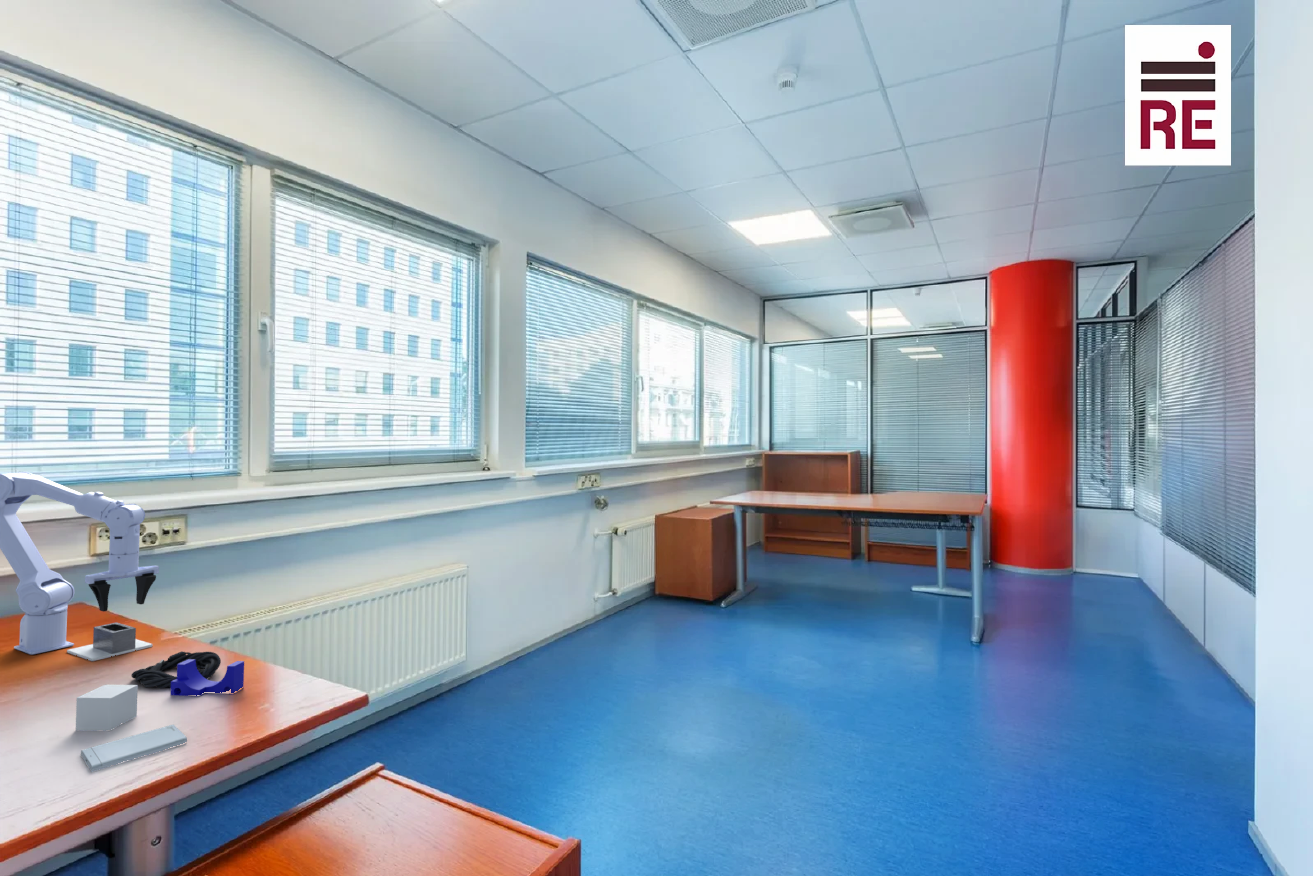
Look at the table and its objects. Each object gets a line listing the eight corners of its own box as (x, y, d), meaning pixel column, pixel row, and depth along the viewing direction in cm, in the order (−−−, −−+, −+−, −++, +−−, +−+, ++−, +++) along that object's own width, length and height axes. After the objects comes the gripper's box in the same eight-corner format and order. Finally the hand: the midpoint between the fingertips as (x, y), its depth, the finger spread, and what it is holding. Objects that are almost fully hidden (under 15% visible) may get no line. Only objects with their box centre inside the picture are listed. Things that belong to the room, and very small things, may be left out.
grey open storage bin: (92, 647, 151) (93, 627, 151) (115, 642, 155) (116, 622, 155) (112, 654, 147) (112, 633, 147) (135, 648, 151) (135, 628, 151)
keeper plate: (66, 652, 149) (67, 637, 149) (126, 638, 160) (127, 624, 160) (92, 661, 144) (92, 645, 144) (152, 646, 155) (152, 632, 155)
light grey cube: (109, 731, 111) (110, 698, 111) (75, 731, 111) (76, 697, 111) (136, 716, 117) (137, 684, 117) (104, 716, 117) (105, 684, 117)
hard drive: (173, 723, 112) (80, 748, 103) (187, 737, 107) (91, 765, 98) (172, 732, 112) (80, 758, 103) (187, 746, 107) (91, 775, 97)
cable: (231, 677, 137) (232, 658, 137) (154, 698, 125) (155, 677, 125) (197, 661, 146) (198, 643, 147) (122, 679, 135) (123, 659, 135)
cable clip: (170, 696, 127) (171, 666, 127) (187, 687, 131) (188, 659, 131) (228, 698, 126) (229, 668, 126) (243, 689, 131) (244, 661, 131)
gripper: (96, 559, 147) (94, 616, 147) (166, 550, 160) (164, 602, 160) (81, 556, 150) (79, 612, 150) (151, 547, 163) (149, 599, 163)
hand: (122, 607), depth 155 cm, fingers open, 7 cm apart
